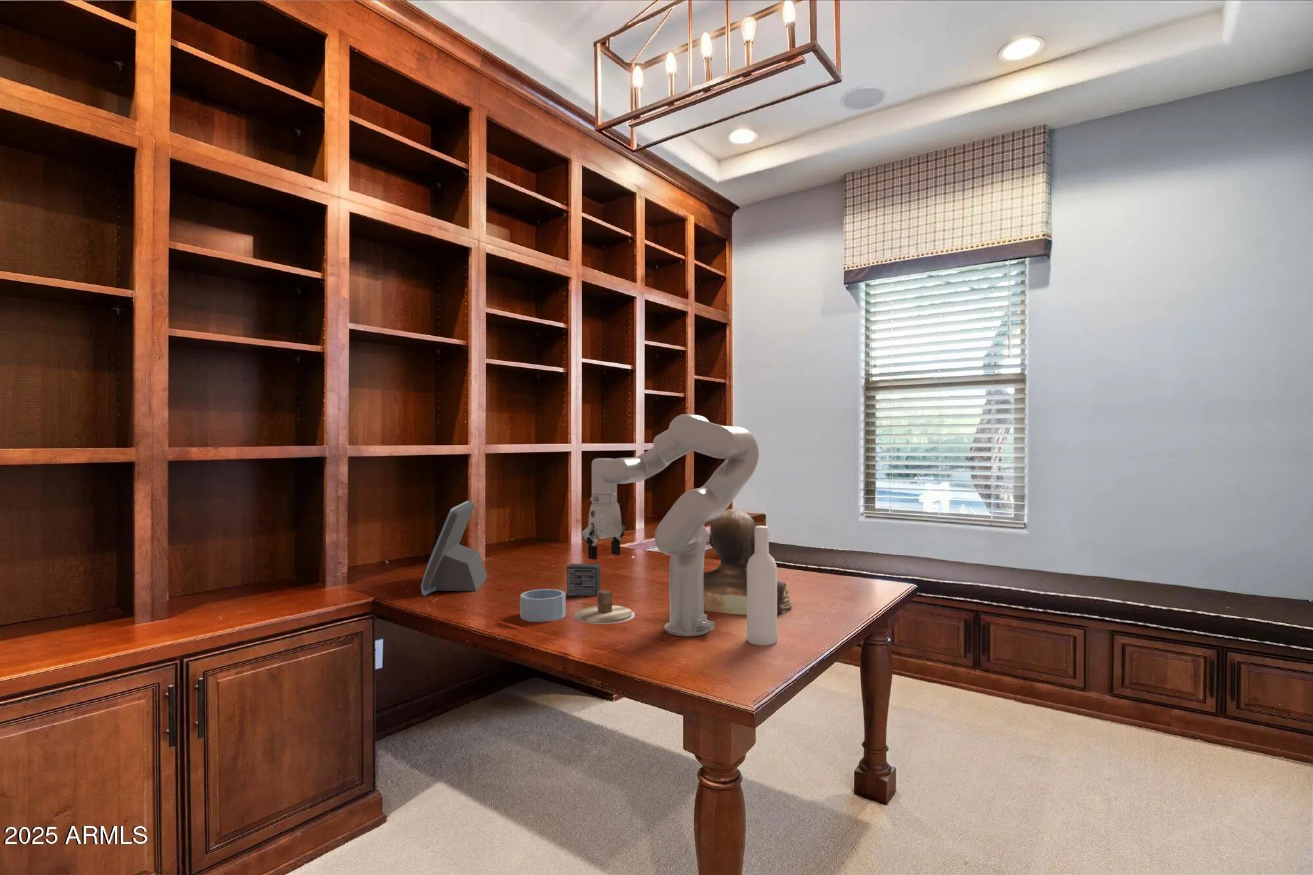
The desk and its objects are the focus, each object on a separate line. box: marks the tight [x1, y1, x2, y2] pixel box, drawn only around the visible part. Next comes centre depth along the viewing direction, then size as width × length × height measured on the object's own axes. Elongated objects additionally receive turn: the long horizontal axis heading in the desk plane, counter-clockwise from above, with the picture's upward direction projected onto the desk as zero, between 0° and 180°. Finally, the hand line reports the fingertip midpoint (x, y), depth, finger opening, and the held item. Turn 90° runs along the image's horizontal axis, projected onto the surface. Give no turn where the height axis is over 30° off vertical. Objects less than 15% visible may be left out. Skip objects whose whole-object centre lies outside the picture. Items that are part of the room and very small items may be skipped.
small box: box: [566, 563, 601, 598], centre depth 220 cm, size 11×6×10 cm, turn 84°
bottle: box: [746, 525, 779, 647], centre depth 169 cm, size 8×8×30 cm
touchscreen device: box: [420, 500, 488, 597], centre depth 238 cm, size 35×20×30 cm, turn 6°
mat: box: [574, 611, 636, 625], centre depth 192 cm, size 18×18×1 cm
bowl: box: [519, 588, 567, 623], centre depth 192 cm, size 13×13×7 cm
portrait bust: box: [704, 508, 793, 616], centre depth 206 cm, size 21×35×31 cm, turn 63°
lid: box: [577, 590, 633, 623], centre depth 192 cm, size 16×16×7 cm
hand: (604, 556), depth 192 cm, fingers open, 9 cm apart
